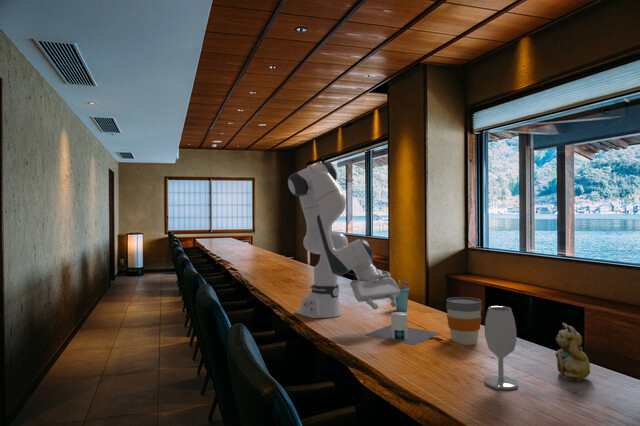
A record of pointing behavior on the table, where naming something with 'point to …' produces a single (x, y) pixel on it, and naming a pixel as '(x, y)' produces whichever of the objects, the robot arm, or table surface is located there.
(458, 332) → the reusable coffee cup
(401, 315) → the cream tumbler
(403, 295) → the cup
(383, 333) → the charcoal mat
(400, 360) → the table surface
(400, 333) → the teal marble
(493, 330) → the wineglass
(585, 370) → the decorative figurine
